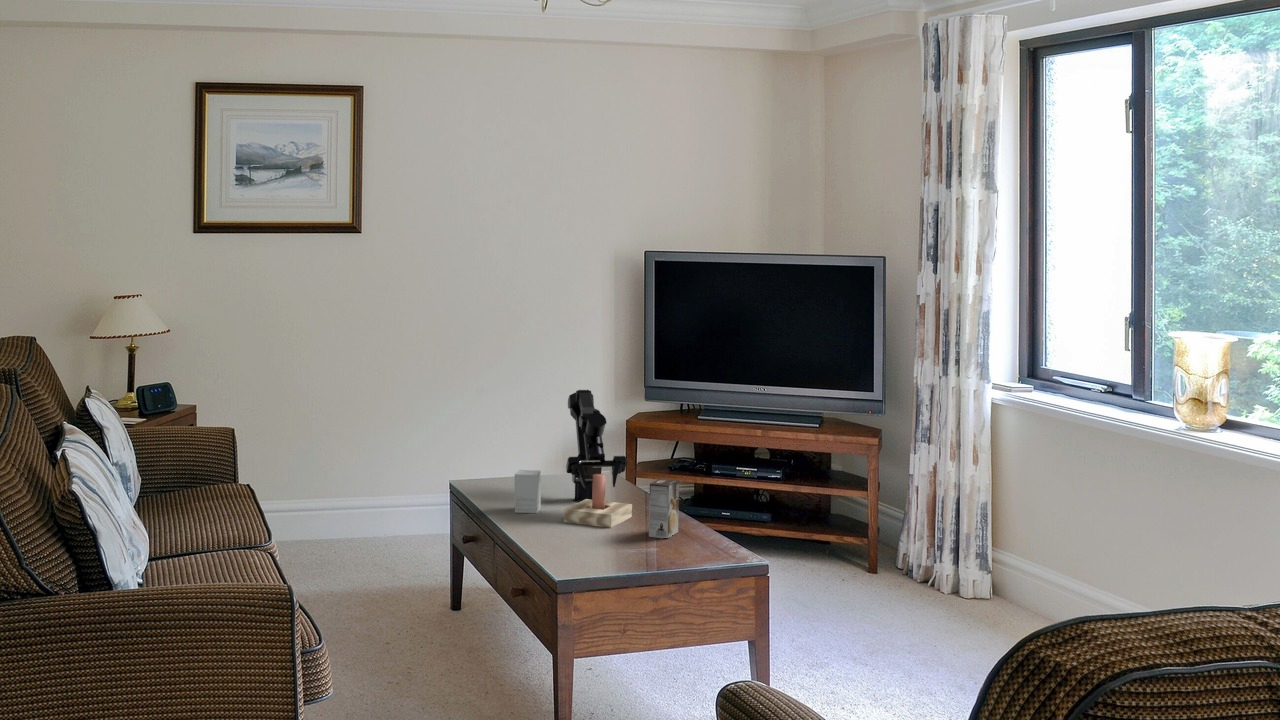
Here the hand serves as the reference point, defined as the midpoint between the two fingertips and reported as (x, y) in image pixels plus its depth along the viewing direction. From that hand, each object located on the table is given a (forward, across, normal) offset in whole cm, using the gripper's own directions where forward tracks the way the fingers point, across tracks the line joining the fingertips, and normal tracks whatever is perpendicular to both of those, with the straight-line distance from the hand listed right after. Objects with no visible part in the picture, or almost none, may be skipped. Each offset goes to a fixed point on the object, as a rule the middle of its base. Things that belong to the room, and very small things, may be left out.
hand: (599, 487), depth 339 cm
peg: (+6, 0, -8) cm, 11 cm away
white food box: (+21, -16, +6) cm, 27 cm away
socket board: (+6, 0, -8) cm, 11 cm away
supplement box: (-3, +20, -19) cm, 28 cm away
